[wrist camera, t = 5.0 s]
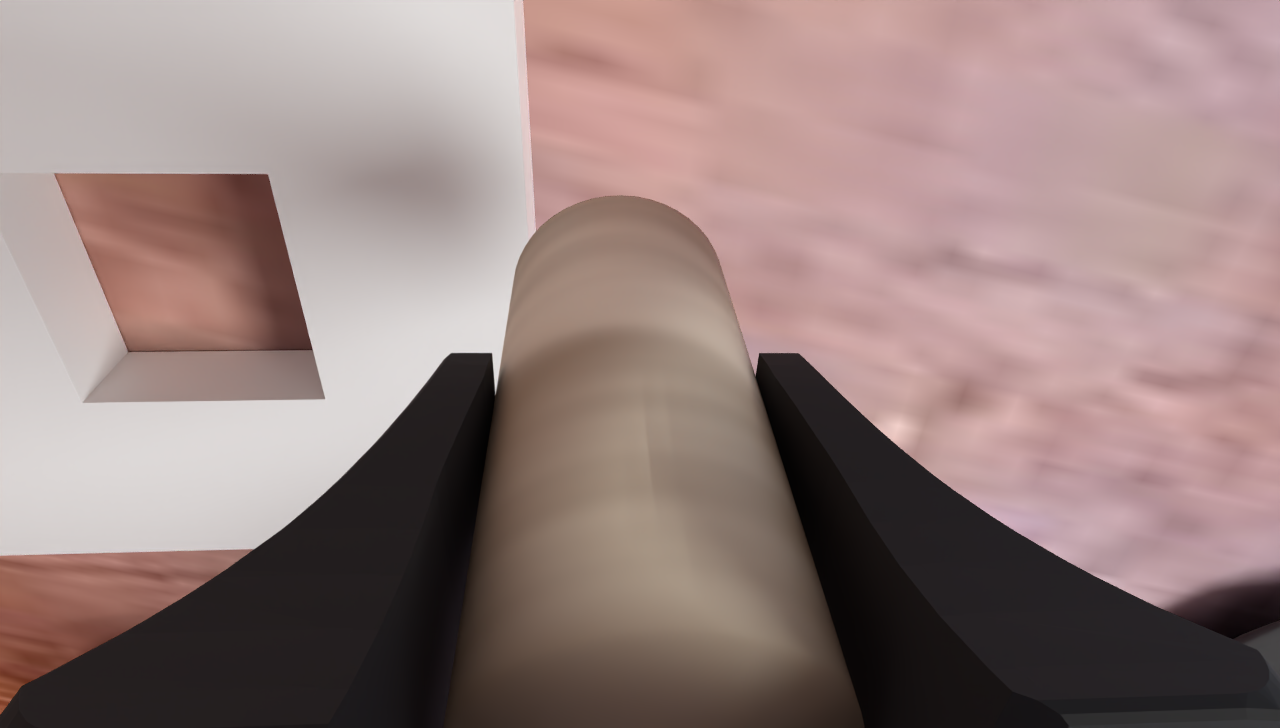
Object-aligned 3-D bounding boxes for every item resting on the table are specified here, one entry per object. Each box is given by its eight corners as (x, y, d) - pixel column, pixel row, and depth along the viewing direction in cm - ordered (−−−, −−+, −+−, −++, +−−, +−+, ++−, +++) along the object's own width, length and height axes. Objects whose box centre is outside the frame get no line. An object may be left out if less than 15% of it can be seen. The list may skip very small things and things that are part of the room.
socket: (549, 487, 27) (546, 541, 25) (8, 498, 26) (-43, 556, 24) (516, -125, 17) (505, -120, 15) (-379, -149, 16) (-527, -149, 13)
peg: (712, 379, 16) (823, 850, 9) (518, 379, 16) (459, 867, 8) (733, 197, 14) (909, 625, 6) (506, 193, 13) (412, 637, 6)
